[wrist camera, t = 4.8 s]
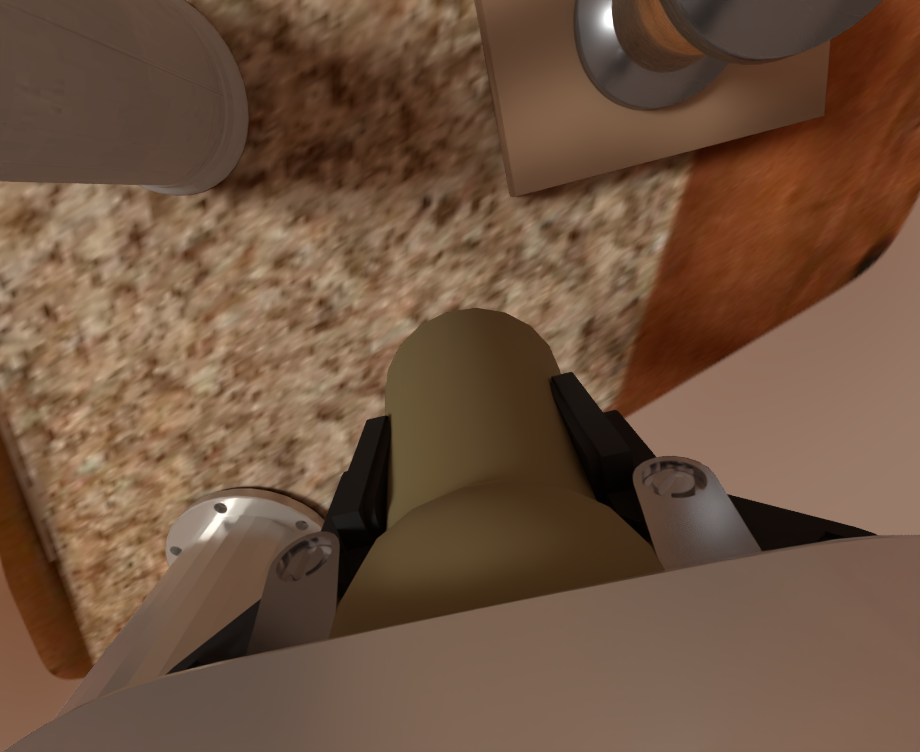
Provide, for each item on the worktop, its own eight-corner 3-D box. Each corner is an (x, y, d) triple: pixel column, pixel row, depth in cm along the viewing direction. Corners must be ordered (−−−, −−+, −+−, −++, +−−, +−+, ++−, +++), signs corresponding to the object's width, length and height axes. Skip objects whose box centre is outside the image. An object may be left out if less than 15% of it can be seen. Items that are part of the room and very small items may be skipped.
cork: (590, 340, 14) (976, 704, 4) (522, 486, 16) (654, 972, 6) (413, 282, 13) (301, 551, 3) (366, 444, 15) (203, 932, 5)
